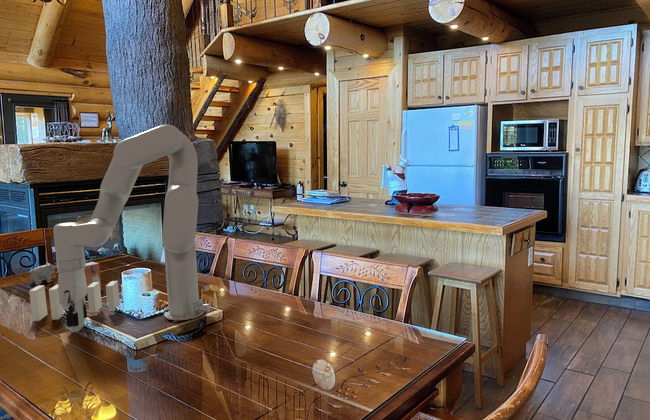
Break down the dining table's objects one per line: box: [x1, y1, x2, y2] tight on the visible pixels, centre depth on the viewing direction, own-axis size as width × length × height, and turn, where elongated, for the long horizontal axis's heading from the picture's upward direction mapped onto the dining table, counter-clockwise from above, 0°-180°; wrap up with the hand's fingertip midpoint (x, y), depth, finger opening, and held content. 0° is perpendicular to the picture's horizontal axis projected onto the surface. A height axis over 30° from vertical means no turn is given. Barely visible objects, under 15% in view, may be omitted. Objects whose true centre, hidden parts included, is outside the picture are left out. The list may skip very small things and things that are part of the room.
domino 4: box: [86, 282, 103, 312], centre depth 161 cm, size 2×6×10 cm, turn 7°
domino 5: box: [105, 280, 121, 312], centre depth 162 cm, size 2×6×10 cm, turn 7°
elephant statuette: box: [29, 262, 57, 286], centre depth 204 cm, size 9×12×8 cm
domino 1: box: [29, 284, 48, 322], centre depth 159 cm, size 2×6×10 cm, turn 7°
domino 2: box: [48, 283, 64, 321], centre depth 160 cm, size 2×6×10 cm, turn 7°
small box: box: [84, 261, 102, 291], centre depth 188 cm, size 8×6×10 cm
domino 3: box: [69, 299, 86, 333], centre depth 148 cm, size 2×6×10 cm, turn 7°
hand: (77, 321), depth 148 cm, fingers closed on domino 3, 5 cm apart
